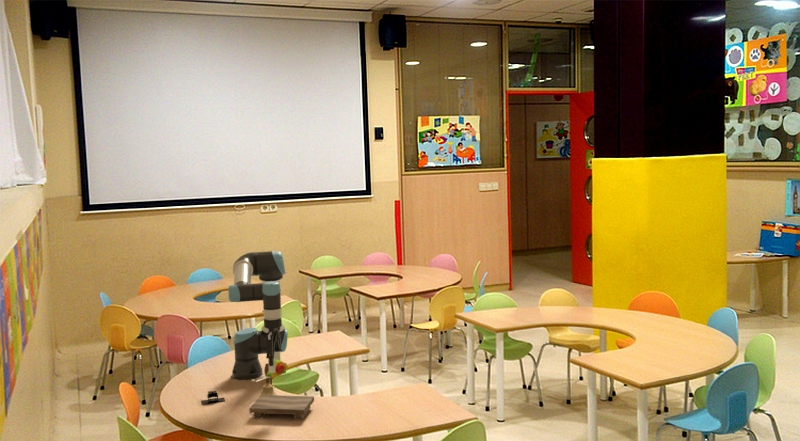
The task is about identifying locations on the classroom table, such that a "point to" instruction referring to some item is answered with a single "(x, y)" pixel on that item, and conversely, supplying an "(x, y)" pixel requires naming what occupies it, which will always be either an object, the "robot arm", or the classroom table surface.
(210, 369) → the classroom table surface
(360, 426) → the classroom table surface
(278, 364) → the toy measuring tape
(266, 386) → the hand bell
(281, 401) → the walnut stand
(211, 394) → the black arched bracket
